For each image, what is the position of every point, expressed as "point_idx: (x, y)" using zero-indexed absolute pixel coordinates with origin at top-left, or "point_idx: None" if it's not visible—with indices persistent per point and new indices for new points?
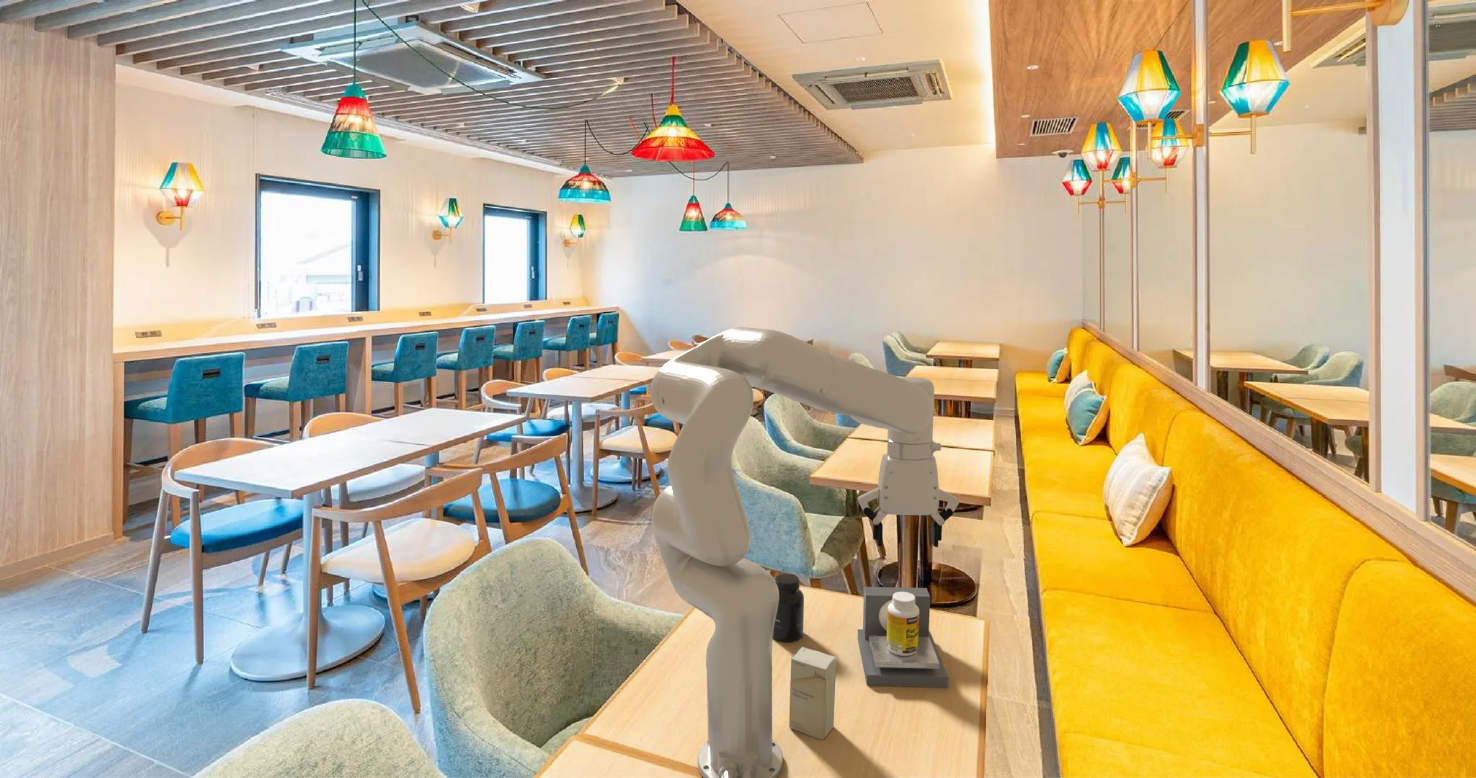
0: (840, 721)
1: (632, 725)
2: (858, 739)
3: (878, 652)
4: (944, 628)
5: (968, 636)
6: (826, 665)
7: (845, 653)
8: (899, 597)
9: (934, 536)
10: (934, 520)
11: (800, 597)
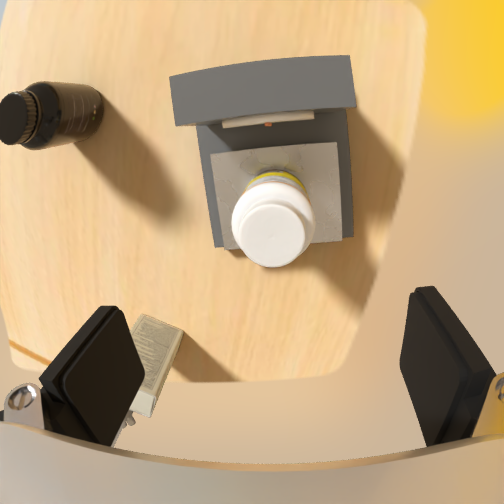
0: (190, 322)
1: (22, 330)
2: (215, 349)
3: (229, 217)
4: (369, 32)
5: (409, 60)
6: (148, 411)
7: (177, 148)
8: (258, 246)
9: (414, 403)
10: (456, 440)
11: (53, 124)
